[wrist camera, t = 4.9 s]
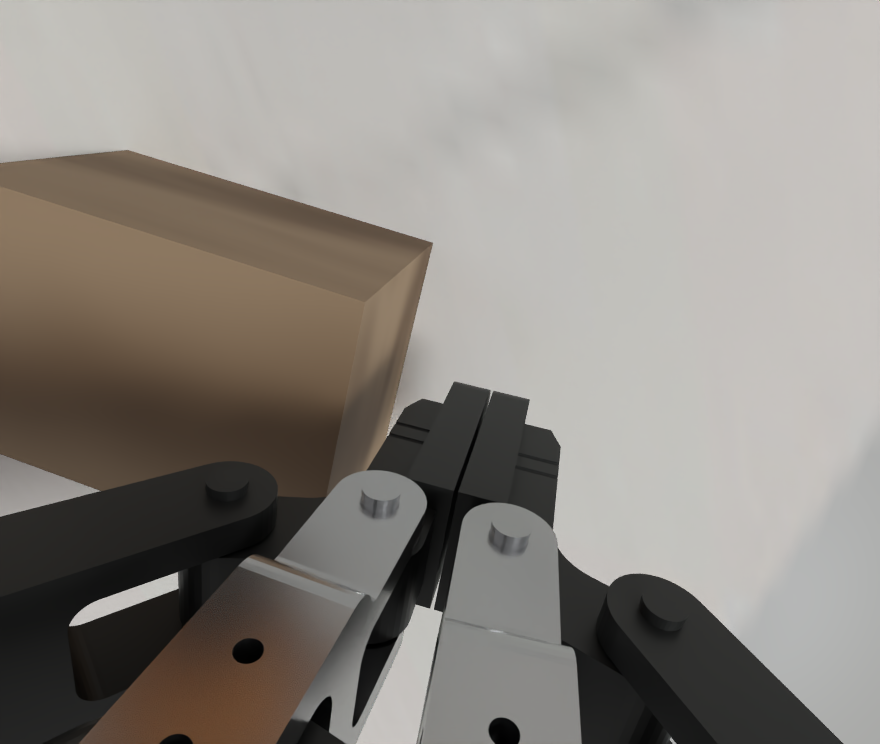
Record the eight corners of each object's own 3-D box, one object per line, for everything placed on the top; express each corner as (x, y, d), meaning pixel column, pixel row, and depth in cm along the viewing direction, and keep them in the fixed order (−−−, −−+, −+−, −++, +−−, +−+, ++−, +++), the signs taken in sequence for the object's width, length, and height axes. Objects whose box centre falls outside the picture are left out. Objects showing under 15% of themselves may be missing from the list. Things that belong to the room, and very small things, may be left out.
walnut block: (132, 149, 16) (-56, 168, 11) (434, 241, 15) (364, 302, 10) (127, 360, 18) (-26, 444, 14) (384, 447, 17) (311, 568, 13)
